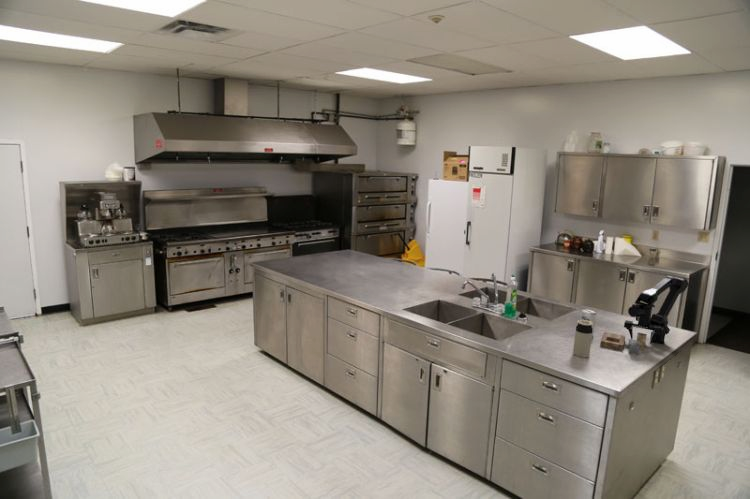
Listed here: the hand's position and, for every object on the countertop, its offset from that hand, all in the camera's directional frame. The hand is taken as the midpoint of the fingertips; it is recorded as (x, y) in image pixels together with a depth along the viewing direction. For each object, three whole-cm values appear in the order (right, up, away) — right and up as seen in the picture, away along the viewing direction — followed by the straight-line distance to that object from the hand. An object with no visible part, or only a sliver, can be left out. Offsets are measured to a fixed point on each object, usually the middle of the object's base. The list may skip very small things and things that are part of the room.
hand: (641, 341), depth 272 cm
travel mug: (-40, -4, -16) cm, 44 cm away
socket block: (-16, -1, +1) cm, 16 cm away
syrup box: (-25, +1, +13) cm, 28 cm away
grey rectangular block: (-9, -4, -9) cm, 13 cm away
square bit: (0, -2, 0) cm, 2 cm away
